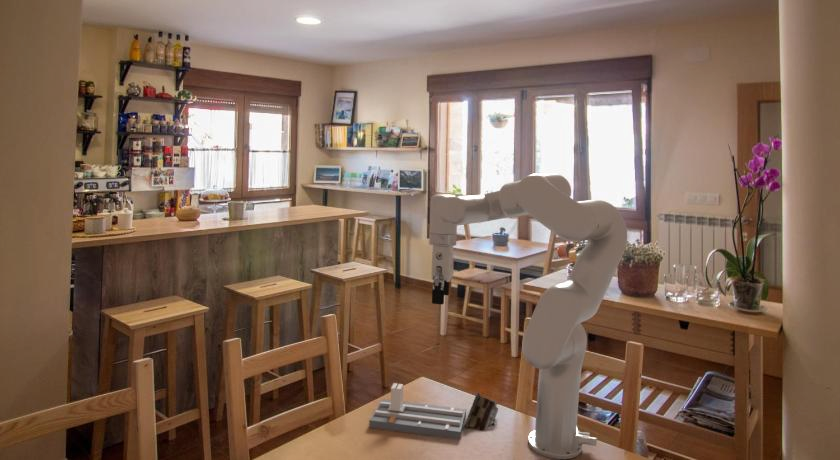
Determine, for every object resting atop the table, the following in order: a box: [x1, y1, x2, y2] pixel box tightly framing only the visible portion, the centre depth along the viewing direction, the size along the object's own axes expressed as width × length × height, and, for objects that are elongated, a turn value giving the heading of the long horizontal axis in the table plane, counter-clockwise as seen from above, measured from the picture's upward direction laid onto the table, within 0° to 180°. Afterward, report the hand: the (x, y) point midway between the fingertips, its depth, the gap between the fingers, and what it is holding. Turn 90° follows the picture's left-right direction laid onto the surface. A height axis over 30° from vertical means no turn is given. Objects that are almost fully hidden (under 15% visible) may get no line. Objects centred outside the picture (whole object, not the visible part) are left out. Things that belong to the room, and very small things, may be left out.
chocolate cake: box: [463, 388, 499, 432], centre depth 141 cm, size 10×7×12 cm
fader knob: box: [388, 382, 405, 413], centre depth 139 cm, size 4×3×7 cm
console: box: [368, 398, 467, 441], centre depth 139 cm, size 23×12×3 cm, turn 79°
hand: (440, 299), depth 151 cm, fingers open, 9 cm apart
